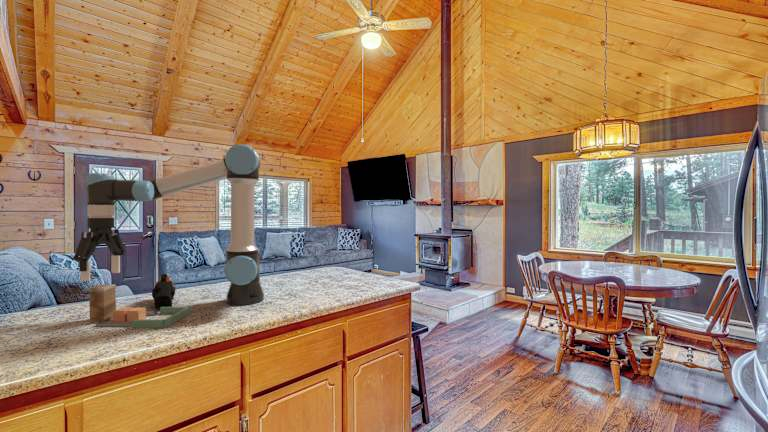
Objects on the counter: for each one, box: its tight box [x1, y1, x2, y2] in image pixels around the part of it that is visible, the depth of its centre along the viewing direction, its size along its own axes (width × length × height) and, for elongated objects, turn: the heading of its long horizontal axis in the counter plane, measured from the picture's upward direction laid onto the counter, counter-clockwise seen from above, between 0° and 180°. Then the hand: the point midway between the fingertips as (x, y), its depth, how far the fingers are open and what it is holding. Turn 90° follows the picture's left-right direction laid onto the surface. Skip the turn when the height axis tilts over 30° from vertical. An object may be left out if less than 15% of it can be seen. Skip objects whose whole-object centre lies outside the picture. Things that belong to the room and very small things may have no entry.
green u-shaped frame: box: [132, 306, 192, 329], centre depth 127 cm, size 11×16×2 cm
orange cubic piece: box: [112, 306, 133, 322], centre depth 127 cm, size 4×4×4 cm
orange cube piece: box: [126, 307, 147, 322], centre depth 127 cm, size 4×4×4 cm
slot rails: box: [95, 310, 158, 328], centre depth 127 cm, size 12×14×1 cm
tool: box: [151, 273, 176, 310], centre depth 146 cm, size 8×23×15 cm, turn 29°
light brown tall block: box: [88, 283, 117, 323], centre depth 126 cm, size 5×6×12 cm
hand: (101, 276), depth 126 cm, fingers open, 13 cm apart
